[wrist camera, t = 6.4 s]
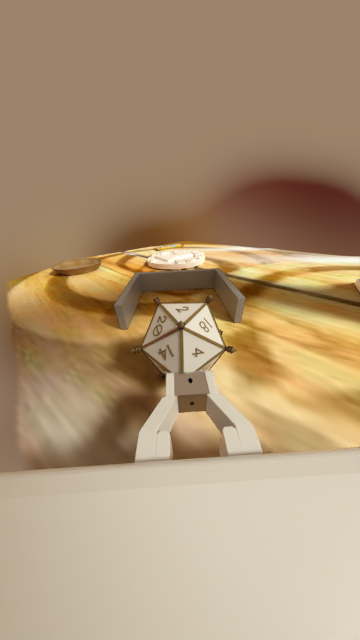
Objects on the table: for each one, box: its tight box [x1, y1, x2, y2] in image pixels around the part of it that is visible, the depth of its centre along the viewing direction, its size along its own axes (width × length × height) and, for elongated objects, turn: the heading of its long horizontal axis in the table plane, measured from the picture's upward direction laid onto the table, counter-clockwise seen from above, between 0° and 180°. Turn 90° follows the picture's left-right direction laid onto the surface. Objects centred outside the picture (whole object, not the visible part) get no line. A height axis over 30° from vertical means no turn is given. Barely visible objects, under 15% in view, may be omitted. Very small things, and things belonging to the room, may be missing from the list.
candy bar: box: [154, 243, 184, 250], centre depth 83 cm, size 17×4×2 cm, turn 127°
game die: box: [130, 295, 237, 380], centre depth 15 cm, size 9×8×10 cm
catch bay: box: [114, 268, 246, 329], centre depth 30 cm, size 15×18×4 cm
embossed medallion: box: [147, 250, 205, 270], centre depth 57 cm, size 20×20×3 cm
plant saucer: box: [51, 258, 102, 275], centre depth 53 cm, size 15×15×3 cm
